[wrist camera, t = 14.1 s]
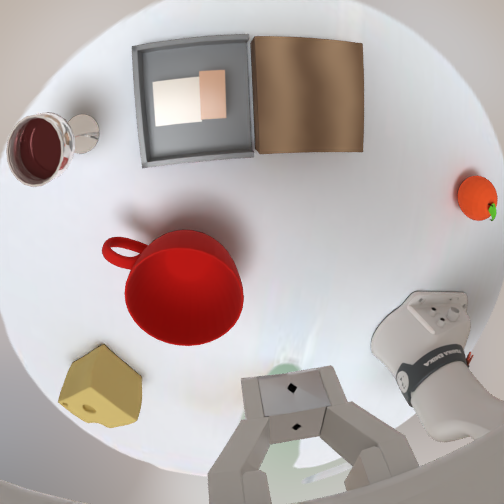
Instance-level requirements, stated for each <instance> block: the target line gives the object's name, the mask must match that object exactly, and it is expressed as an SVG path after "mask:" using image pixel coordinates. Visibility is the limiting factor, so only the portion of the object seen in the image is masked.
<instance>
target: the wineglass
mask: <svg viewBox="0 0 504 504" xmlns="http://www.w3.org/2000/svg"><path fill="white" fill-rule="evenodd" d="M98 138H99V127H98V125H97V122H96V121H95V120H94V118H92V117H91V116H89V115H85V114H81V115H77V116H75V117H73V118H72V119H71V120H70V121H69V122H67V121H66V120H65V119H64V118H62V117H61V116H59V115H58V114H55V113H49V112H45V113H40V114H36V115H32V116H27V117H25V118H24V119H22V120H21V121H19V122H18V123H17V124H16V126H15V127H14V128H13V129H12V131H11V134H10V136H9V138H8V142H7V150H6V152H7V162H8V164H9V167H10V170H11V172H12V173H13V175H14V176H15V177H16V179H17V180H19V181H20V182H21V183H23V184H24V185H28V186H31V187H37V186H42V185H44V184H46V183H48V182H50V181H52V180H53V179H55V178H57V177H59V176H60V175H61V174H62V173H63V172H64V171H65V170H66V169H67V168H68V167H69V165H70V163H71V161H72V159H73V156H74V152H75V153H79V154H81V153H86V152H88V151H90V150H91V149H93V148H94V147H95V145H96V143H97V142H98Z"/></svg>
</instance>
